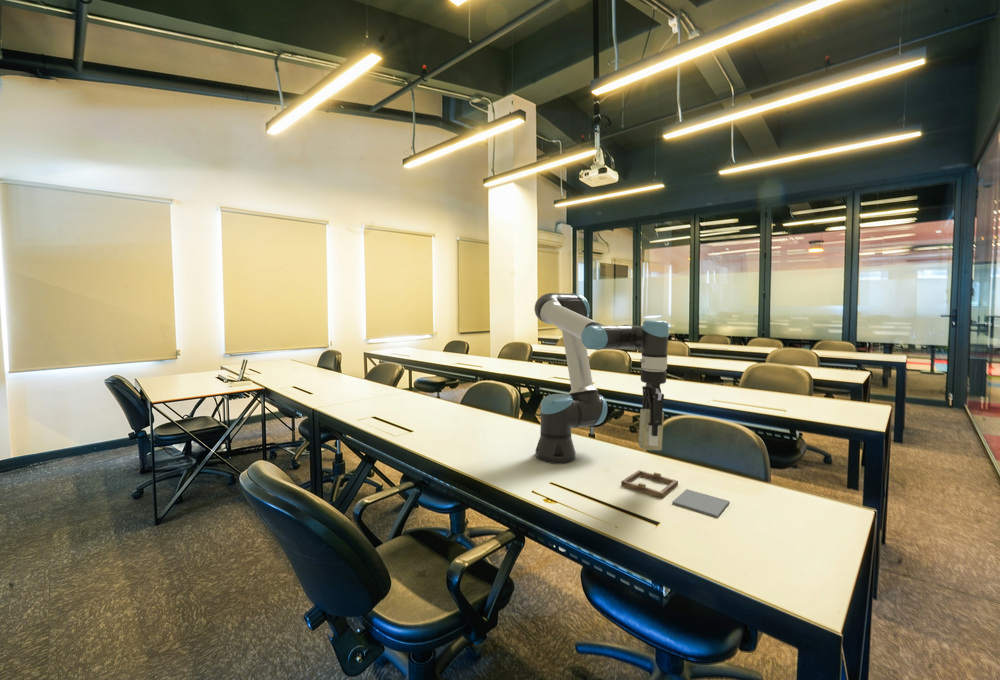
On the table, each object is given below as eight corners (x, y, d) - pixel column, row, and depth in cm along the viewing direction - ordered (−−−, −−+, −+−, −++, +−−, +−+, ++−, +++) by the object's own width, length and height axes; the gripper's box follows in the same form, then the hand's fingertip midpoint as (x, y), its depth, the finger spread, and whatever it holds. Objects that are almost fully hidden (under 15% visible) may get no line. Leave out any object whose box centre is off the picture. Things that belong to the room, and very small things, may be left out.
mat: (672, 503, 121) (672, 501, 121) (686, 490, 129) (686, 489, 129) (717, 517, 113) (717, 515, 112) (729, 503, 121) (729, 501, 121)
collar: (621, 485, 133) (621, 478, 133) (638, 474, 142) (639, 467, 142) (662, 498, 124) (662, 490, 124) (677, 485, 134) (678, 478, 134)
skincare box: (642, 450, 131) (644, 412, 129) (637, 445, 135) (639, 408, 134) (662, 450, 131) (664, 412, 129) (657, 445, 135) (659, 408, 134)
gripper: (633, 365, 140) (631, 434, 141) (650, 373, 122) (646, 451, 124) (656, 366, 139) (653, 434, 141) (676, 374, 122) (672, 452, 124)
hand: (650, 442), depth 133 cm, fingers closed on skincare box, 4 cm apart
